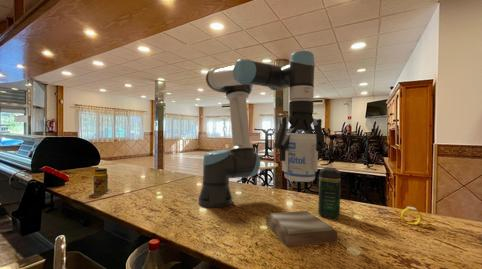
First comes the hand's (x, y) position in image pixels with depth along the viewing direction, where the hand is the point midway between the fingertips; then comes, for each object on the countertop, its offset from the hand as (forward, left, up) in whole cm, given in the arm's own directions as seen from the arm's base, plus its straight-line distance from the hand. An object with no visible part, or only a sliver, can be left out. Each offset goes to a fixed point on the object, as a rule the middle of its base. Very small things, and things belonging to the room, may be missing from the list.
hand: (299, 171), depth 70 cm
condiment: (-63, -77, -20) cm, 101 cm away
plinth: (0, 0, -20) cm, 20 cm away
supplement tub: (0, 0, -3) cm, 3 cm away
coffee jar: (-12, +20, -20) cm, 31 cm away
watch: (+2, +44, -20) cm, 49 cm away
